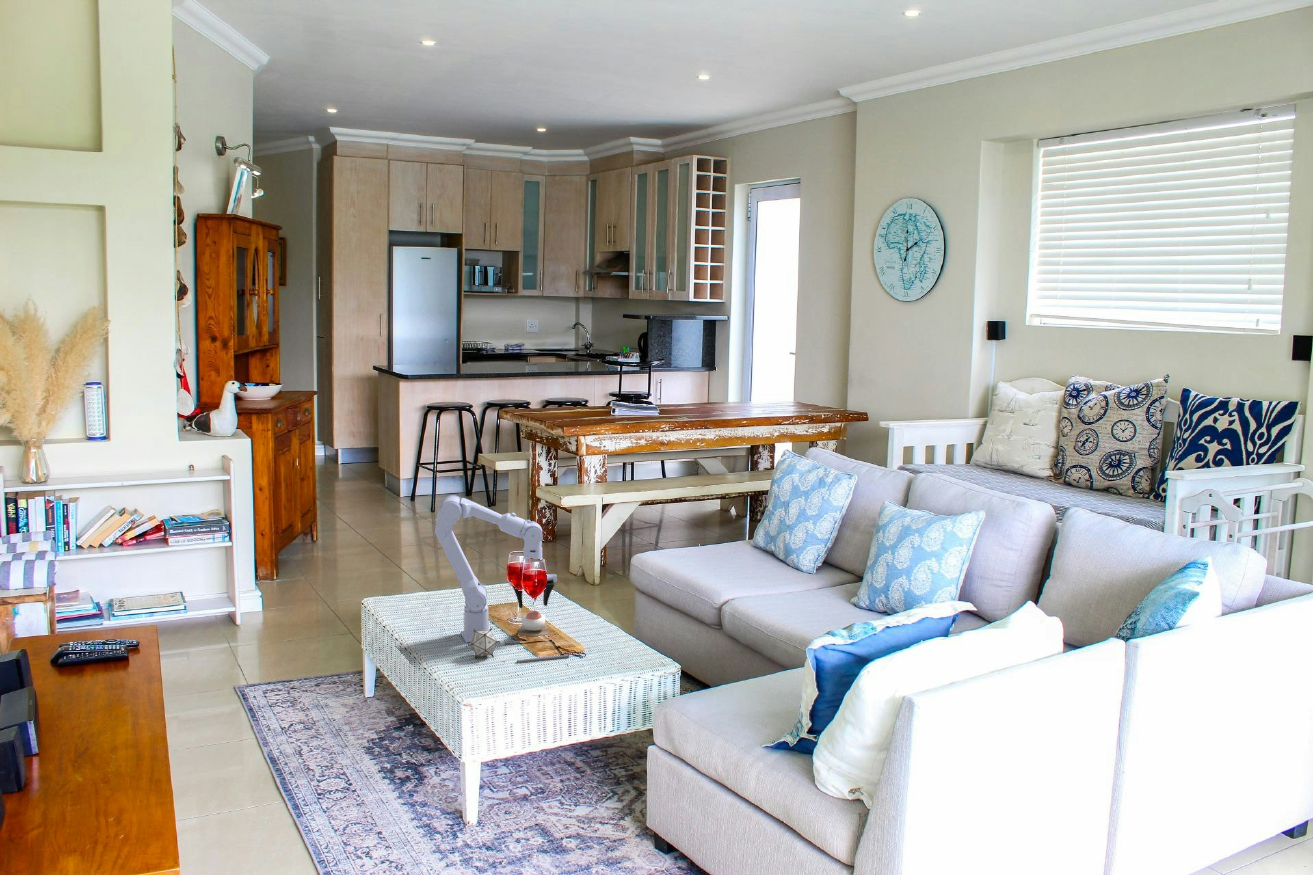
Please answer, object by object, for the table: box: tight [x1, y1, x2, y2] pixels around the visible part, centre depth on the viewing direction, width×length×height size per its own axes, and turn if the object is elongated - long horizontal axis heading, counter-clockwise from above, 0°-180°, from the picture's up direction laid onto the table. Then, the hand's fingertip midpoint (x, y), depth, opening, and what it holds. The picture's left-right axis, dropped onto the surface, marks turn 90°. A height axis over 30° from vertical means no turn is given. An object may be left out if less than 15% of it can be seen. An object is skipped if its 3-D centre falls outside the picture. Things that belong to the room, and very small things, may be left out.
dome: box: [521, 610, 546, 630], centre depth 319 cm, size 7×7×5 cm
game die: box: [467, 627, 500, 660], centre depth 300 cm, size 9×8×10 cm
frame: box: [504, 640, 570, 664], centre depth 306 cm, size 17×15×1 cm
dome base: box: [516, 626, 551, 637], centre depth 320 cm, size 10×10×2 cm
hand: (532, 606), depth 318 cm, fingers open, 7 cm apart
